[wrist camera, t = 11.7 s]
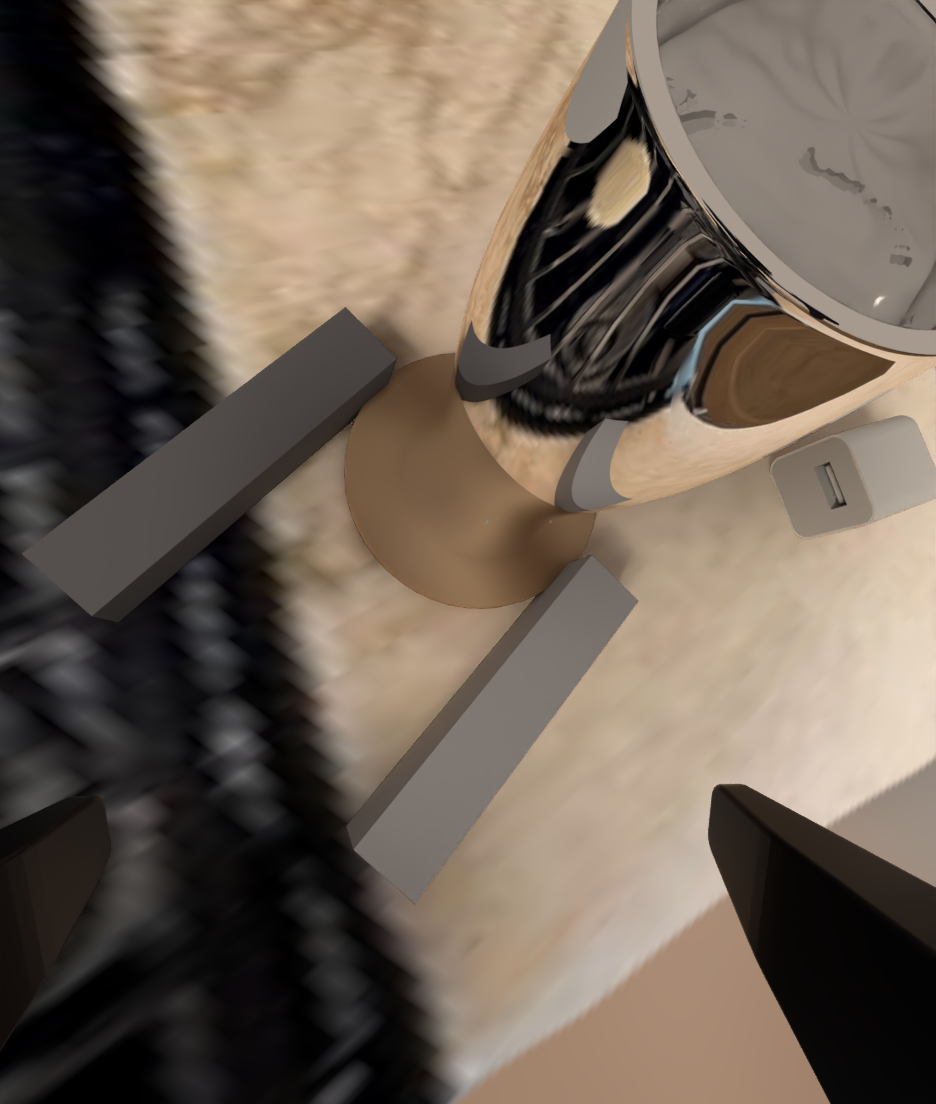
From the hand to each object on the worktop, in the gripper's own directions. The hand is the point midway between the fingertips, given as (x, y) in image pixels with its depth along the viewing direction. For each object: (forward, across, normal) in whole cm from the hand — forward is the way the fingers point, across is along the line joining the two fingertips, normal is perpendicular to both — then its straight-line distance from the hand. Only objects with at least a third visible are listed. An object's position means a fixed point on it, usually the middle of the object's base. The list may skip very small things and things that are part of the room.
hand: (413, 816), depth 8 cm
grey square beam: (+11, -2, +4) cm, 12 cm away
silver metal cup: (+14, -2, -4) cm, 15 cm away
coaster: (+14, -2, -4) cm, 15 cm away
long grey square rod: (+12, +7, -4) cm, 15 cm away
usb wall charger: (+20, -19, -3) cm, 28 cm away
